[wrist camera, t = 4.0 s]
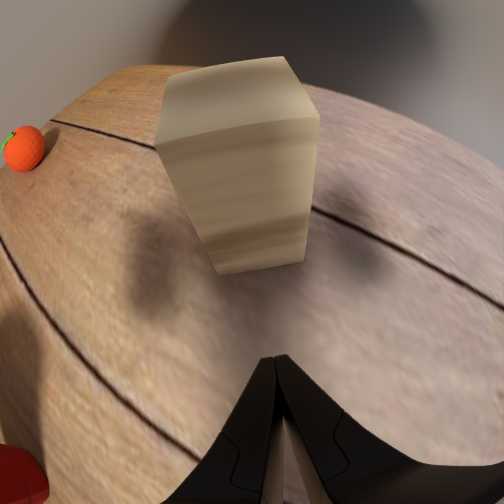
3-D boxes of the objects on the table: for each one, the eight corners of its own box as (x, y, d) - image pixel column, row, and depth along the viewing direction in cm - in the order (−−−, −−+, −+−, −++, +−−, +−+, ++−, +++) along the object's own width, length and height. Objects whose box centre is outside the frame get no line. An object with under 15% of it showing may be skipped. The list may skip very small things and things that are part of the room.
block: (303, 261, 20) (320, 116, 9) (219, 275, 20) (154, 145, 9) (286, 195, 22) (283, 56, 12) (213, 207, 23) (168, 76, 12)
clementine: (18, 194, 28) (-10, 163, 22) (14, 176, 31) (-10, 148, 25) (56, 155, 30) (32, 120, 24) (48, 142, 33) (27, 111, 27)
